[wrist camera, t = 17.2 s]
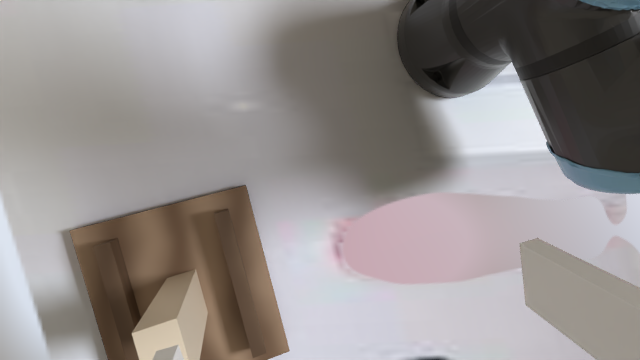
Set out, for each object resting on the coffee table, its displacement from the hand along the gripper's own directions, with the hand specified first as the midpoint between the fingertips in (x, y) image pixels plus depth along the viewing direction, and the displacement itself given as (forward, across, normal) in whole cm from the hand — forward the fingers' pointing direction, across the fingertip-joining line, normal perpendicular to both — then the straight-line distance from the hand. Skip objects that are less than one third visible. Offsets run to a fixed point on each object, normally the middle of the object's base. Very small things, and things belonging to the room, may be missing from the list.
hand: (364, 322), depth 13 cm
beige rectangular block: (+25, -15, -9) cm, 31 cm away
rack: (+27, -15, -10) cm, 32 cm away
